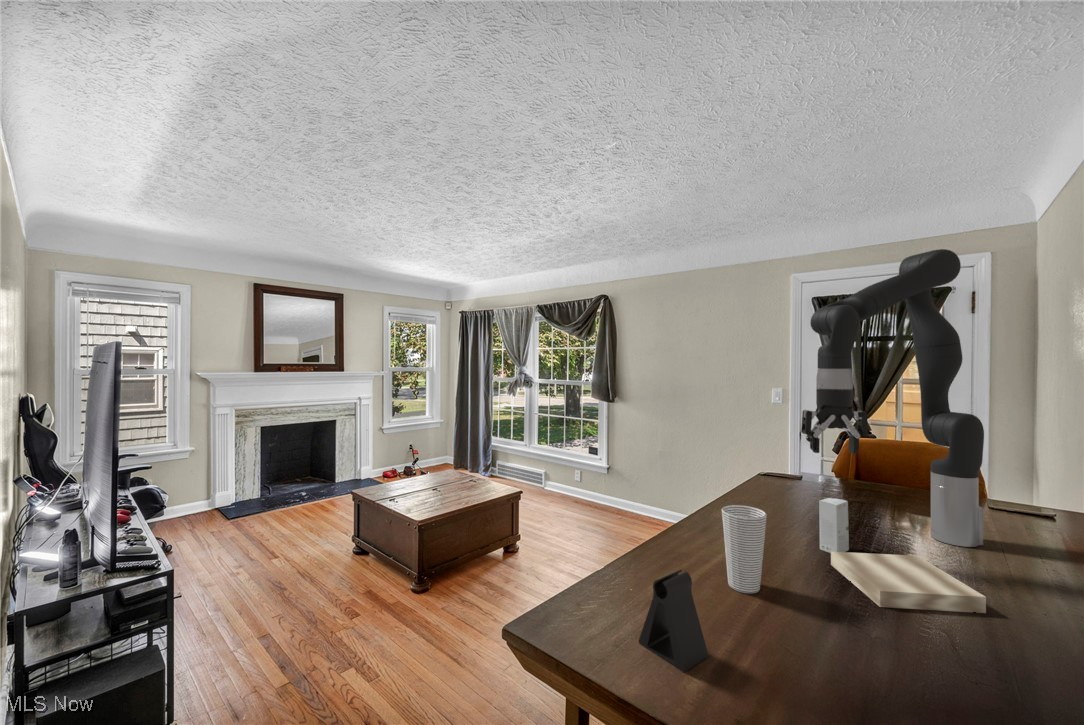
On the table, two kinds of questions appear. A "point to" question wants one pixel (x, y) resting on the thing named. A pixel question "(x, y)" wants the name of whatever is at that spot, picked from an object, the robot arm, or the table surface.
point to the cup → (744, 546)
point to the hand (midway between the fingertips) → (834, 452)
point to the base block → (907, 582)
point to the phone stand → (674, 623)
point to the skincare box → (833, 525)
